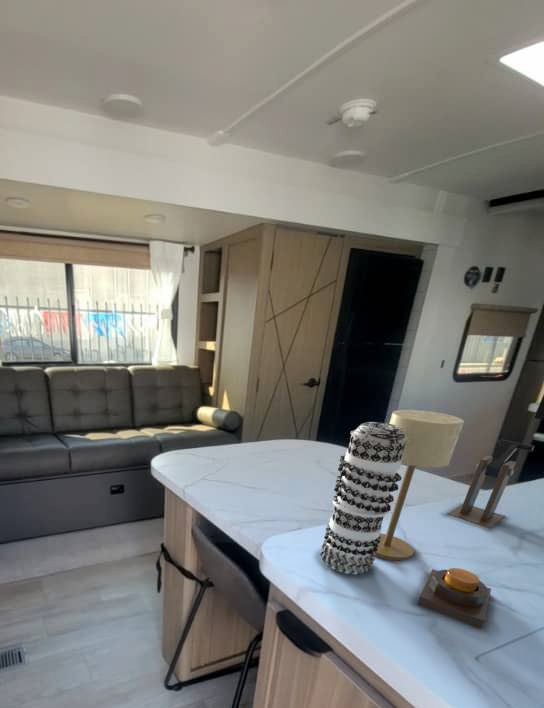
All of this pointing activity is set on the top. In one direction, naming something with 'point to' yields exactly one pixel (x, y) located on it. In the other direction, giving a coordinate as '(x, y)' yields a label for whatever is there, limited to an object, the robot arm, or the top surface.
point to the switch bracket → (488, 515)
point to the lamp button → (461, 579)
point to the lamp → (418, 464)
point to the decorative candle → (363, 496)
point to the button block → (455, 600)
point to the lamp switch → (505, 457)
